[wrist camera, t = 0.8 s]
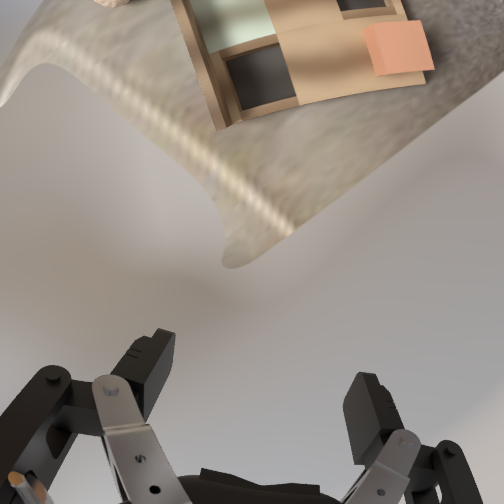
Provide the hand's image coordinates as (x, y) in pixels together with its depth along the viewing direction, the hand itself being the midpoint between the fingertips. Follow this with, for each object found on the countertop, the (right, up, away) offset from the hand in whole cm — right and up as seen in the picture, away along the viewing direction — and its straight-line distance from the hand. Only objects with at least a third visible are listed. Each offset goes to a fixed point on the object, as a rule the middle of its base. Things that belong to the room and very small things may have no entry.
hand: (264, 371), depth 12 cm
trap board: (+5, +28, +14) cm, 32 cm away
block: (+13, +25, +11) cm, 31 cm away
